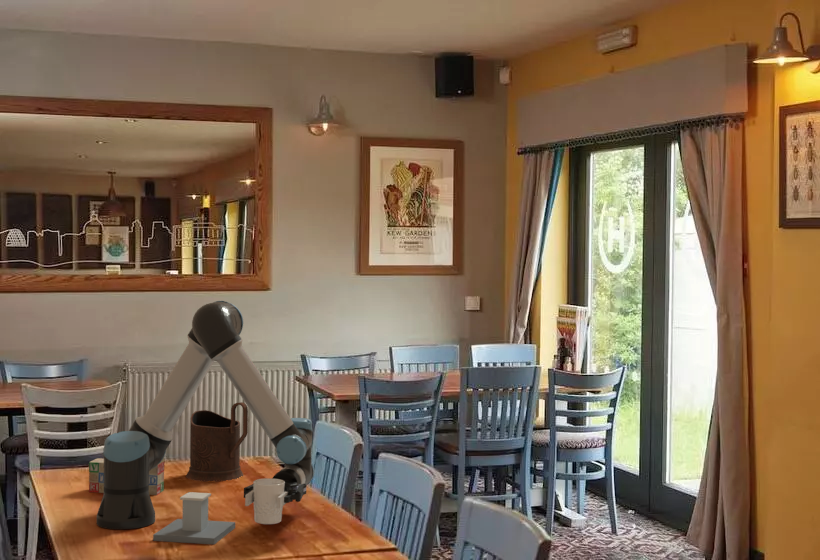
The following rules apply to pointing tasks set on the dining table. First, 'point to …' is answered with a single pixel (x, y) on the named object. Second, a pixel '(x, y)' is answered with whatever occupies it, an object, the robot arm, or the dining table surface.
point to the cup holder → (216, 445)
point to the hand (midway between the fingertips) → (262, 501)
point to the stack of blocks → (98, 477)
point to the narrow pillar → (194, 523)
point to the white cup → (267, 500)
